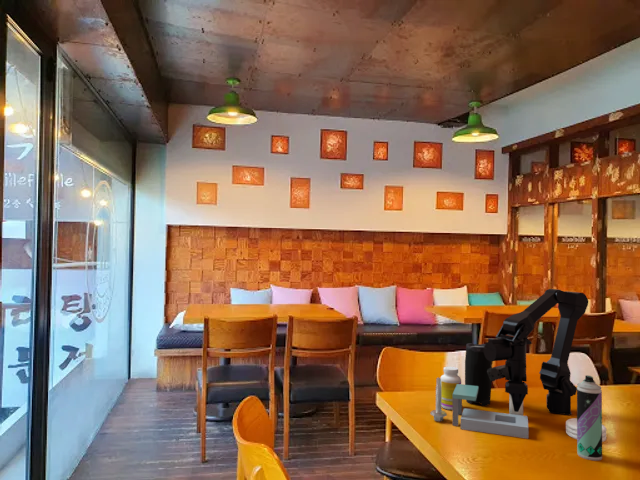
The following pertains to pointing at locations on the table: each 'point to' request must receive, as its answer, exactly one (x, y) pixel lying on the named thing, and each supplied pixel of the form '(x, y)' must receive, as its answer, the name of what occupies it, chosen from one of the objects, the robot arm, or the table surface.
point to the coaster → (572, 429)
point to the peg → (511, 408)
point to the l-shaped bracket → (462, 393)
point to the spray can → (589, 419)
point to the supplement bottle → (449, 386)
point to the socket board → (495, 423)
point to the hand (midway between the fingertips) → (516, 409)
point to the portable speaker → (478, 372)
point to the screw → (438, 403)
